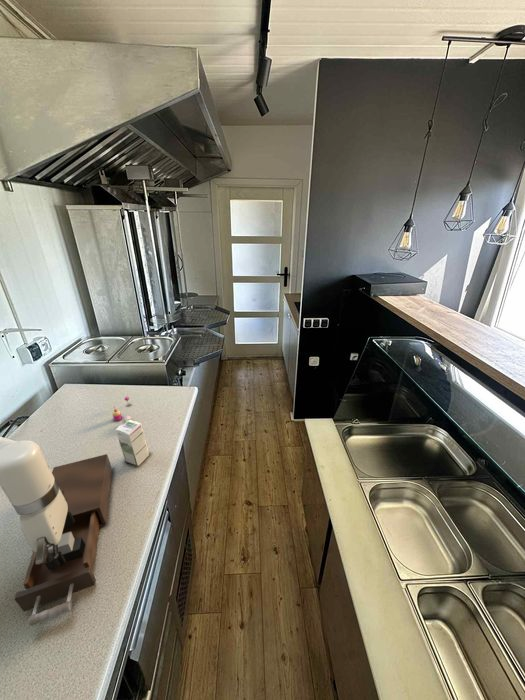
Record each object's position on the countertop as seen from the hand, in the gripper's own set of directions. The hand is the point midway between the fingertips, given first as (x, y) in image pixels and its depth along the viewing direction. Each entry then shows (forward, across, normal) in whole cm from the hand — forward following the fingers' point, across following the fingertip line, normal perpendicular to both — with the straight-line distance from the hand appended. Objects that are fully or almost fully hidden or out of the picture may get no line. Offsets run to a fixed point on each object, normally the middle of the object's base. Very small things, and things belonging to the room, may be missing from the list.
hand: (63, 544), depth 67 cm
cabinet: (+6, -17, 0) cm, 18 cm away
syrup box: (+7, -29, +15) cm, 33 cm away
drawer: (+6, +2, 0) cm, 6 cm away
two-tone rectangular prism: (+5, 0, 0) cm, 5 cm away
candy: (+7, -54, +10) cm, 55 cm away
